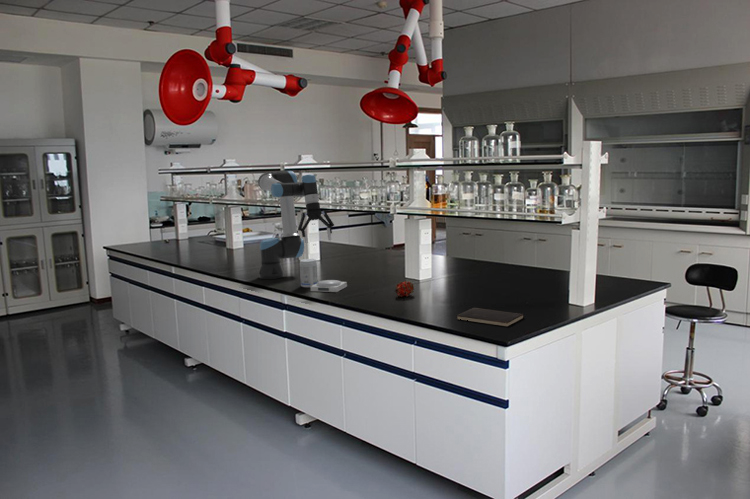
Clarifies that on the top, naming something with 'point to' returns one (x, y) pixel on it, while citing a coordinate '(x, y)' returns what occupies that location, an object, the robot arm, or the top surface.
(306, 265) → the supplement tub
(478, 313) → the hardcover book
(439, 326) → the top surface
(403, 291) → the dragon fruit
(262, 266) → the robot arm
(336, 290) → the scale
